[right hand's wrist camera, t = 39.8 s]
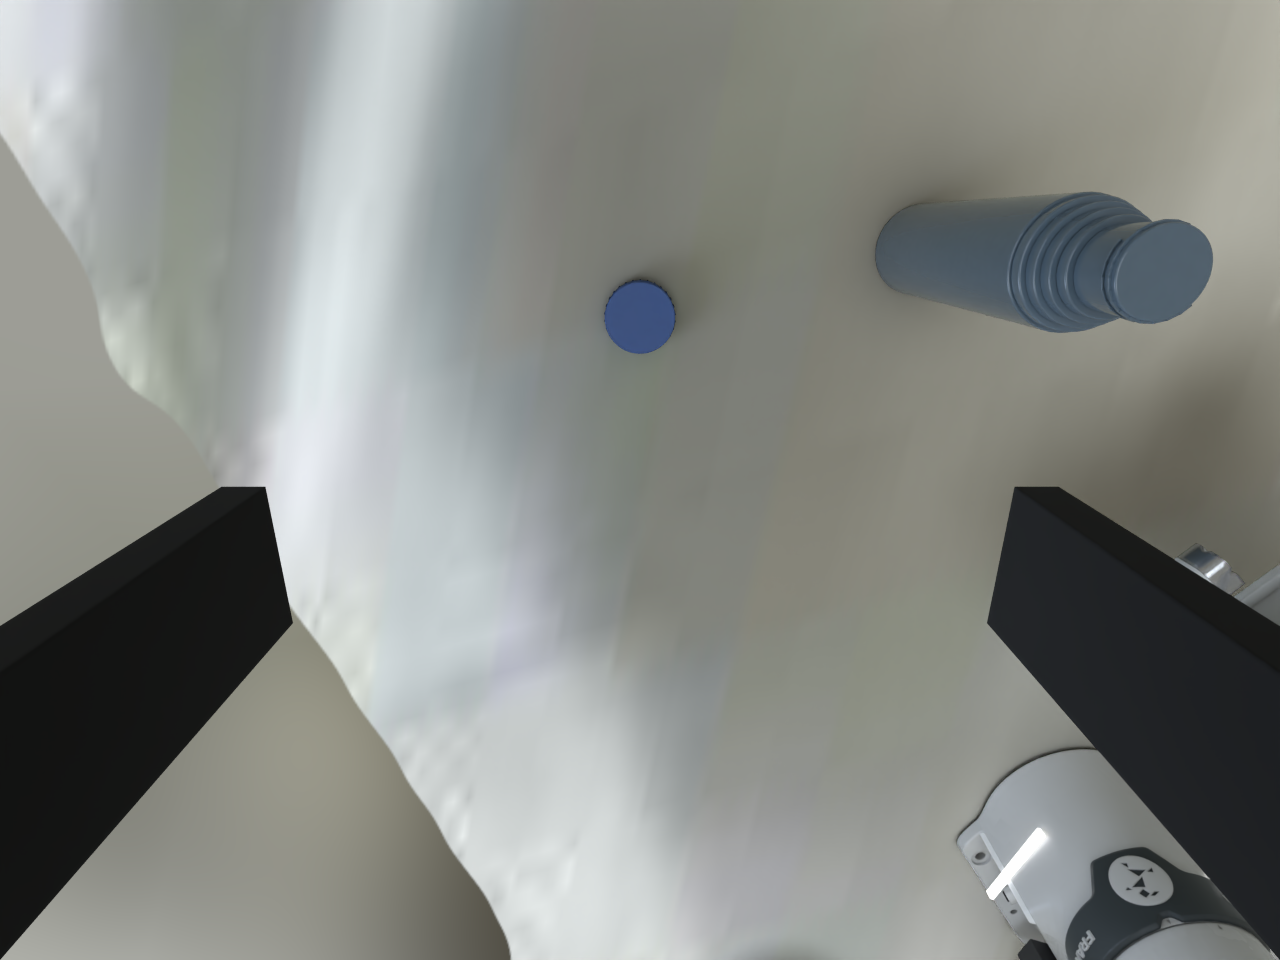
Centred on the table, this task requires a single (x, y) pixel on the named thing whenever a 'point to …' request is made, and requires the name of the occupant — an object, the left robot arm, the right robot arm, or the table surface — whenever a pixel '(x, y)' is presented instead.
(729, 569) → the table surface
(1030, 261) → the bottle
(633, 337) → the cap
